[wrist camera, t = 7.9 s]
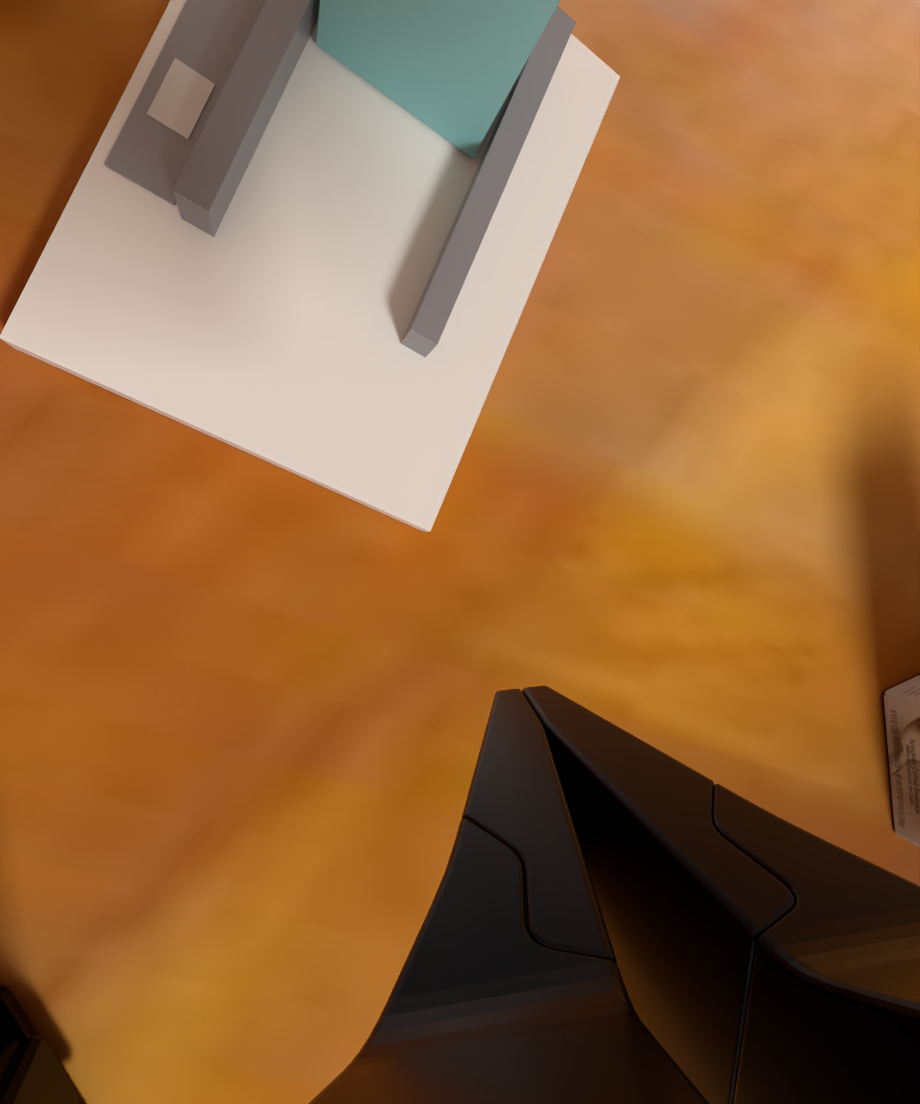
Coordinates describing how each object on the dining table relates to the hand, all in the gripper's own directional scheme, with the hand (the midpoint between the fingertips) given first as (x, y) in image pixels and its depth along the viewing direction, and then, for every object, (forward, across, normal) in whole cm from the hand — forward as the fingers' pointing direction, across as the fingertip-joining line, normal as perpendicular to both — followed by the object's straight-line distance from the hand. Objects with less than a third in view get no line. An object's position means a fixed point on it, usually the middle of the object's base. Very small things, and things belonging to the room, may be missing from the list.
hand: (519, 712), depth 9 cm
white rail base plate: (+15, +2, -12) cm, 19 cm away
